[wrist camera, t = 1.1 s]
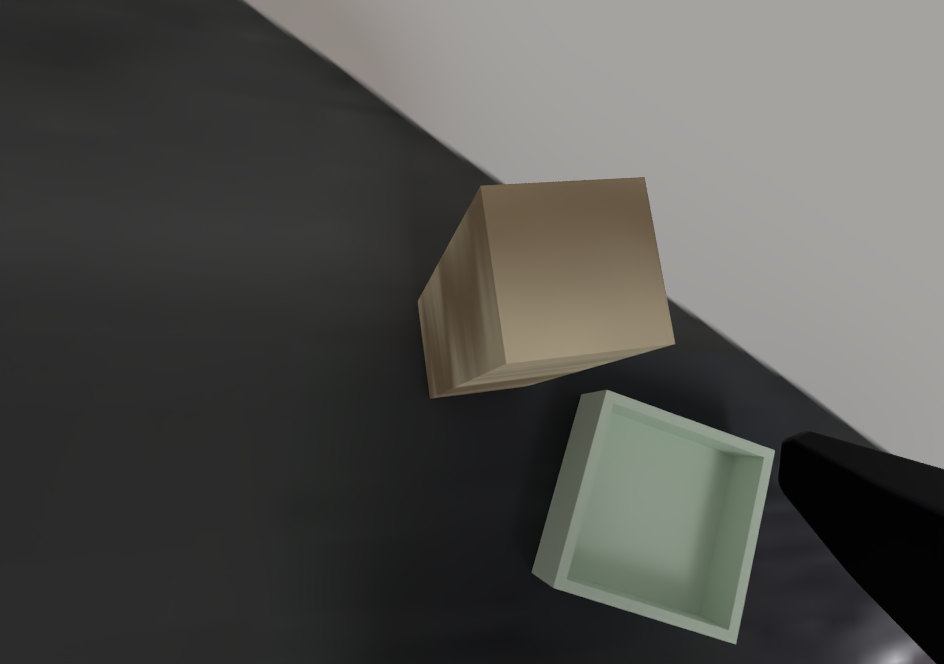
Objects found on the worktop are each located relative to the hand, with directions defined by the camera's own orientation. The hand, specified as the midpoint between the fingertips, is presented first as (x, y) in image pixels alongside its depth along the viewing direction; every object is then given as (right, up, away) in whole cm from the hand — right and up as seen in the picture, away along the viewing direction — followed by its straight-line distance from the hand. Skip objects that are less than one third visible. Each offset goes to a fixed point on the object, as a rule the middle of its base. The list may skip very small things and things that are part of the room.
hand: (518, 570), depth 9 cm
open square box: (+6, -4, +17) cm, 19 cm away
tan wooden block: (-1, +3, +17) cm, 17 cm away
